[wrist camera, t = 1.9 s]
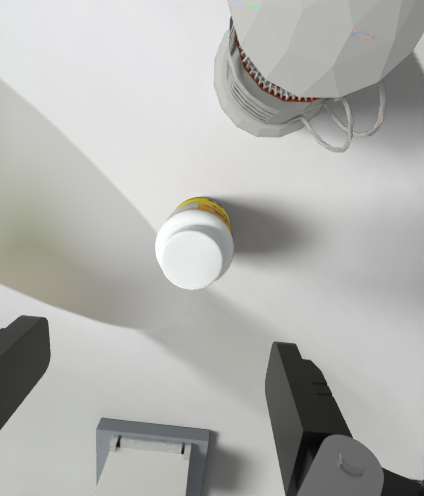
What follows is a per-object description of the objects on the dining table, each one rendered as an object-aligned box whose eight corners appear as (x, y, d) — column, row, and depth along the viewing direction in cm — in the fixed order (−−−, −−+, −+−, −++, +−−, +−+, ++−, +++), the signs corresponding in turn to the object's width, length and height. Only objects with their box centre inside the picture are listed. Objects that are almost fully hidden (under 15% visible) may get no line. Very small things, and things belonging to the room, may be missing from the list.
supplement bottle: (237, 243, 29) (247, 288, 19) (183, 259, 29) (165, 312, 20) (220, 187, 27) (220, 205, 17) (163, 205, 28) (132, 234, 18)
